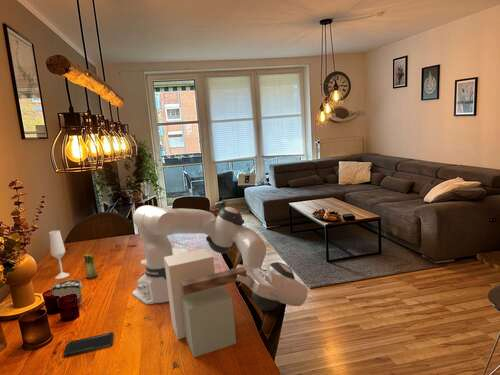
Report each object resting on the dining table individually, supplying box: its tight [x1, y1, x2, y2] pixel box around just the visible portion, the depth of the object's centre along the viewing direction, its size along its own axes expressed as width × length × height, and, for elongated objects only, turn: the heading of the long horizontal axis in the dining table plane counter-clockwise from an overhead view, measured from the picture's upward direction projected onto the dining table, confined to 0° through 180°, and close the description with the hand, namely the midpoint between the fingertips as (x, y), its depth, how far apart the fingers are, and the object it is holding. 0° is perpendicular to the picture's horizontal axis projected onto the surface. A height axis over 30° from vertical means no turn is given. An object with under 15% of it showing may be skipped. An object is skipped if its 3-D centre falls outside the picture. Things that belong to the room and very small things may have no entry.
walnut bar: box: [180, 267, 247, 295], centre depth 112 cm, size 21×4×3 cm, turn 113°
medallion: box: [140, 246, 190, 265], centre depth 195 cm, size 24×27×2 cm
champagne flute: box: [48, 230, 70, 280], centre depth 179 cm, size 7×7×24 cm
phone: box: [62, 332, 115, 358], centre depth 118 cm, size 8×1×15 cm
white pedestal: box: [164, 248, 216, 340], centre depth 122 cm, size 15×10×26 cm, turn 113°
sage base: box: [181, 285, 237, 358], centre depth 113 cm, size 14×10×16 cm
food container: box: [50, 279, 83, 308], centre depth 148 cm, size 12×6×10 cm, turn 92°
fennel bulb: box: [83, 254, 98, 279], centre depth 176 cm, size 6×5×12 cm
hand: (233, 274), depth 114 cm, fingers closed on walnut bar, 3 cm apart
